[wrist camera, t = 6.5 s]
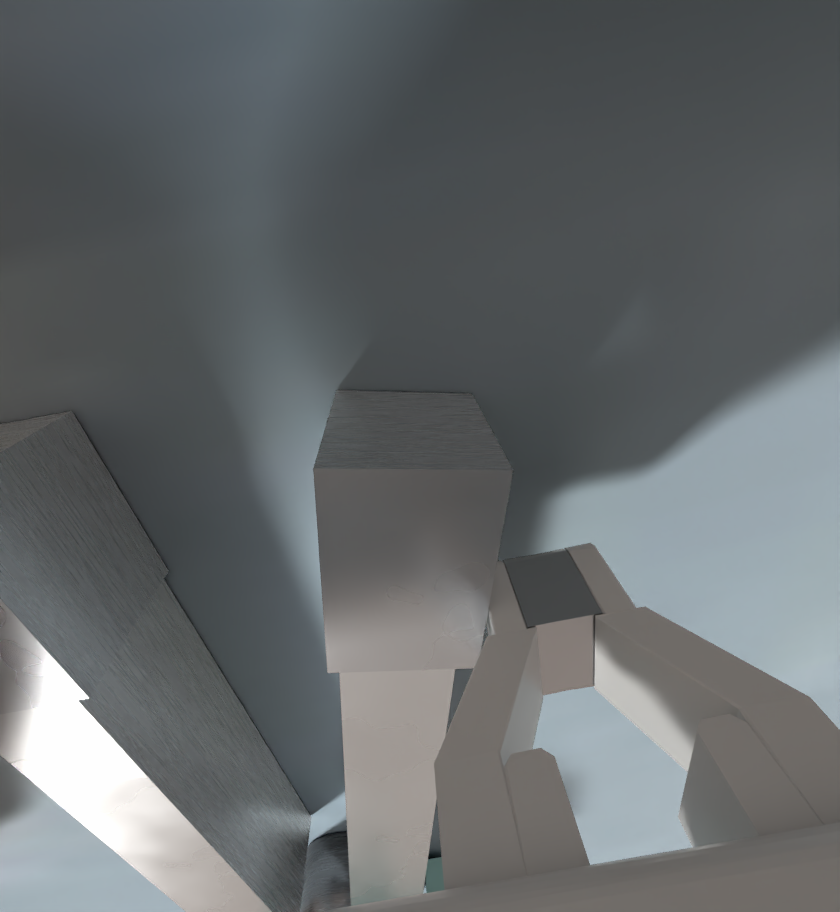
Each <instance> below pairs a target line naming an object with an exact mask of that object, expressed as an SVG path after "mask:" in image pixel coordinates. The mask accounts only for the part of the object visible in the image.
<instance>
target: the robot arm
mask: <svg viewBox="0 0 840 912" xmlns="http://www.w3.org/2000/svg"><path fill="white" fill-rule="evenodd" d="M486 626H487V631H488V635H489V636H487V637H486V639H485V642H484V644H483V647H482V649H481V652H480V654H479V656H478V659H477V661H476V664H475V666H474V668H473V671H472V673H471V676H470V678H469V680H468V683H467V685H466V688H465V690H464V693H463V695H462V697H461V700H460V702H459V705H458V707H457V709H456V712H455V714H454V717H453V719H452V721H451V724H450V726H449V729H448V731H447V734H446V736H445V738H444V741H443V743H442V746H441V748H440V750H439V753H438V755H437V758H436V760H435V762H434V771H435V784H436V796H437V808H438V820H439V832H440V844H441V856H442V868H443V880H444V890H442V891H436V892H430V893H424V894H419V895H413V896H407V897H401V898H395V899H390V900H384V901H378V902H372V903H366V904H360V905H355V906H349V907H343V908H337V909H331V910H326V911H320V912H840V730H839V729H838V728H837V727H836V725H835V724H834V723H833V722H832V721H831V720H830V719H829V718H828V717H827V715H826V714H825V713H824V712H823V711H822V710H821V709H820V708H819V707H818V706H817V704H816V703H815V702H814V701H813V700H812V699H811V698H810V697H809V696H807V695H805V694H803V693H801V692H799V691H798V690H796V689H794V688H792V687H790V686H789V685H787V684H785V683H783V682H781V681H779V680H778V679H776V678H774V677H772V676H770V675H769V674H767V673H765V672H763V671H761V670H759V669H758V668H756V667H754V666H752V665H750V664H749V663H747V662H745V661H743V660H741V659H739V658H738V657H736V656H734V655H732V654H730V653H729V652H727V651H725V650H723V649H721V648H719V647H718V646H716V645H714V644H712V643H710V642H709V641H707V640H705V639H703V638H701V637H699V636H698V635H696V634H694V633H692V632H690V631H689V630H687V629H685V628H683V627H681V626H679V625H678V624H676V623H674V622H672V621H670V620H668V619H667V618H665V617H663V616H661V615H659V614H658V613H656V612H654V611H652V610H650V609H648V608H647V607H639V608H636V607H635V605H634V604H633V602H632V601H631V599H630V598H629V596H628V595H627V593H626V592H625V590H624V589H623V587H622V586H621V584H620V583H619V581H618V580H617V578H616V577H615V575H614V574H613V572H612V571H611V569H610V568H609V566H608V565H607V563H606V562H605V560H604V559H603V557H602V556H601V554H600V553H599V551H598V550H597V548H596V547H595V546H594V545H593V544H591V543H587V544H582V545H577V546H573V547H568V548H565V549H559V550H554V551H549V552H544V553H539V554H534V555H528V556H522V557H517V558H511V559H505V560H502V561H497V565H496V571H495V576H494V582H493V587H492V593H491V598H490V604H489V609H488V615H487V620H486ZM591 686H595V687H594V689H595V690H597V691H598V692H599V693H600V694H601V695H602V696H603V697H604V698H606V699H607V700H608V701H609V702H610V703H611V704H612V705H613V706H614V707H616V708H617V709H618V710H619V711H620V712H621V713H622V714H623V715H624V716H626V717H627V718H628V719H629V720H630V721H631V722H632V723H633V724H635V725H636V726H637V727H638V728H639V729H640V730H641V731H642V732H643V733H645V734H646V735H647V736H648V737H649V738H650V739H651V740H652V741H653V742H655V743H656V744H657V745H658V746H659V747H660V748H661V749H662V750H664V751H665V752H666V753H667V754H668V755H669V756H670V757H671V758H672V759H674V760H675V761H676V762H677V763H678V764H679V765H680V766H681V767H682V768H684V769H685V770H686V771H687V772H688V774H687V778H686V783H685V787H684V792H683V796H682V801H681V805H680V810H679V815H678V818H679V820H680V822H681V824H682V826H683V828H684V830H685V832H686V835H687V837H688V839H689V841H690V843H691V845H692V848H686V849H680V850H675V851H669V852H663V853H657V854H651V855H645V856H640V857H634V858H628V859H622V860H616V861H611V862H605V863H599V864H593V865H590V863H589V860H588V857H587V854H586V851H585V848H584V845H583V842H582V839H581V836H580V833H579V830H578V827H577V824H576V821H575V818H574V815H573V812H572V809H571V806H570V803H569V799H568V796H567V793H566V790H565V787H564V784H563V781H562V778H561V775H560V772H559V769H558V766H557V763H556V760H555V757H554V756H553V755H551V754H550V753H548V752H546V751H545V750H543V749H541V748H538V749H533V744H534V739H535V735H536V730H537V725H538V721H539V716H540V711H541V707H542V702H543V695H547V694H552V693H557V692H561V691H566V690H572V689H578V688H585V687H591ZM532 749H533V750H532Z"/></svg>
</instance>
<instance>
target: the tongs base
mask: <svg viewBox="0 0 840 912" xmlns="http://www.w3.org/2000/svg"><path fill="white" fill-rule="evenodd" d="M168 572H169V571H168V569H167V567H166V566H165V564H164V562H163V561H162V559H161V557H160V556H159V554H158V552H157V551H156V549H155V547H154V546H153V544H152V543H151V541H150V539H149V538H148V536H147V534H146V533H145V531H144V529H143V528H142V526H141V524H140V523H139V521H138V519H137V518H136V516H135V514H134V513H133V511H132V509H131V508H130V506H129V504H128V503H127V501H126V499H125V498H124V496H123V495H122V493H121V491H120V490H119V488H118V486H117V485H116V483H115V481H114V480H113V478H112V476H111V475H110V473H109V471H108V470H107V468H106V466H105V465H104V463H103V461H102V460H101V458H100V456H99V455H98V453H97V451H96V450H95V448H94V447H93V445H92V443H91V442H90V440H89V438H88V437H87V435H86V433H85V432H84V430H83V428H82V427H81V425H80V423H79V422H78V420H77V418H76V417H75V415H74V413H73V412H72V411H68V412H62V413H57V414H52V415H47V416H41V417H36V418H31V419H25V420H20V421H15V422H10V423H4V424H0V755H1V756H2V757H3V758H4V759H6V760H7V761H8V762H9V763H10V764H12V765H13V766H14V767H15V768H16V769H18V770H19V771H20V772H21V773H22V774H23V775H25V776H26V777H27V778H28V779H29V780H31V781H32V782H33V783H34V784H35V785H36V786H38V787H39V788H40V789H41V790H42V791H44V792H45V793H46V794H47V795H48V796H50V797H51V798H52V799H53V800H54V801H55V802H57V803H58V804H59V805H60V806H61V807H63V808H64V809H65V810H66V811H67V812H68V813H70V814H71V815H72V816H73V817H74V818H76V819H77V820H78V821H79V822H80V823H82V824H83V825H84V826H85V827H86V828H87V829H89V830H90V831H91V832H92V833H93V834H95V835H96V836H97V837H98V838H99V839H100V840H102V841H103V842H104V843H105V844H106V845H108V846H109V847H110V848H111V849H112V850H114V851H115V852H116V853H117V854H118V855H119V856H121V857H122V858H123V859H124V860H125V861H127V862H128V863H129V864H130V865H131V866H132V867H134V868H135V869H136V870H137V871H138V872H140V873H141V874H142V875H143V876H144V877H146V878H147V879H148V880H149V881H150V882H151V883H153V884H154V885H155V886H156V887H157V888H159V889H160V890H161V891H162V892H163V893H164V894H166V895H167V896H168V897H169V898H170V899H172V900H173V901H174V902H175V903H176V904H178V905H179V906H180V907H181V908H182V909H183V910H185V911H186V912H320V911H326V910H331V909H337V908H343V907H349V906H351V897H350V877H349V857H348V836H347V832H340V833H334V834H330V835H326V836H323V837H321V838H319V839H317V840H315V841H314V842H312V843H311V844H310V845H309V847H308V840H309V832H310V824H311V816H310V814H309V813H308V811H307V809H306V808H305V806H304V804H303V803H302V801H301V800H300V798H299V796H298V795H297V793H296V791H295V790H294V788H293V787H292V785H291V783H290V782H289V780H288V779H287V777H286V775H285V774H284V772H283V770H282V769H281V767H280V766H279V764H278V762H277V761H276V759H275V758H274V756H273V754H272V753H271V751H270V749H269V748H268V746H267V745H266V743H265V741H264V740H263V738H262V737H261V735H260V733H259V732H258V730H257V728H256V727H255V725H254V724H253V722H252V720H251V719H250V717H249V715H248V714H247V712H246V711H245V709H244V707H243V706H242V704H241V703H240V701H239V699H238V698H237V696H236V694H235V693H234V691H233V690H232V688H231V686H230V685H229V683H228V682H227V680H226V678H225V677H224V675H223V673H222V672H221V670H220V669H219V667H218V665H217V664H216V662H215V660H214V659H213V657H212V656H211V654H210V652H209V651H208V649H207V648H206V646H205V644H204V643H203V641H202V639H201V638H200V636H199V635H198V633H197V631H196V630H195V628H194V627H193V625H192V623H191V622H190V620H189V618H188V617H187V615H186V614H185V612H184V610H183V609H182V607H181V606H180V604H179V602H178V601H177V599H176V597H175V596H174V594H173V593H172V591H171V589H170V588H169V586H168V584H167V583H166V581H165V580H164V578H165V576H166V575H167V573H168Z"/></svg>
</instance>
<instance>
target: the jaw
mask: <svg viewBox="0 0 840 912" xmlns="http://www.w3.org/2000/svg"><path fill="white" fill-rule="evenodd" d="M313 471H314V485H315V500H316V514H317V529H318V543H319V558H320V572H321V586H322V601H323V615H324V630H325V644H326V658H327V673H339V674H340V694H341V715H342V735H343V755H344V775H345V796H346V816H347V836H348V857H349V877H350V897H351V906H355V905H360V904H366V903H372V902H378V901H384V900H390V899H395V898H401V897H407V896H413V895H419V894H423V890H424V883H425V876H426V869H427V862H428V855H429V848H430V841H431V834H432V827H433V820H434V813H435V806H436V799H437V796H436V784H435V771H434V762H435V760H436V758H437V755H438V753H439V750H440V748H441V746H442V743H443V741H444V738H445V736H446V730H447V723H448V716H449V709H450V702H451V695H452V688H453V681H454V675H455V669H467V668H474V666H475V664H476V661H477V659H478V656H479V654H480V652H481V648H482V642H483V637H484V631H485V626H486V620H487V615H488V609H489V604H490V598H491V593H492V587H493V582H494V576H495V571H496V565H497V560H498V554H499V549H500V543H501V537H502V532H503V526H504V521H505V515H506V510H507V504H508V499H509V493H510V488H511V482H512V477H513V471H514V470H513V469H512V467H511V465H510V463H509V461H508V459H507V457H506V456H505V454H504V452H503V450H502V448H501V446H500V444H499V443H498V441H497V439H496V437H495V435H494V433H493V432H492V430H491V428H490V426H489V424H488V422H487V420H486V419H485V417H484V415H483V413H482V411H481V409H480V408H479V406H478V404H477V402H476V400H475V398H474V396H473V395H472V394H466V393H430V392H393V391H357V390H336V392H335V396H334V399H333V403H332V406H331V409H330V413H329V416H328V420H327V423H326V427H325V430H324V434H323V437H322V440H321V444H320V447H319V451H318V454H317V458H316V461H315V464H314V468H313Z"/></svg>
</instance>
